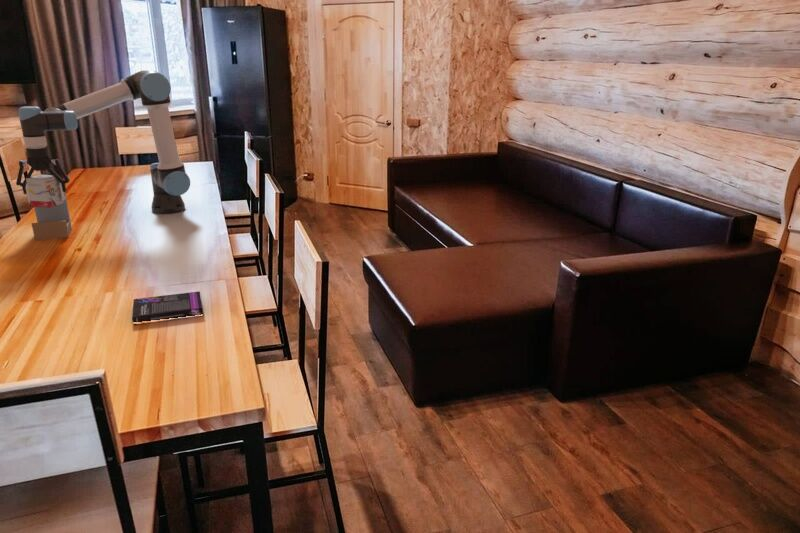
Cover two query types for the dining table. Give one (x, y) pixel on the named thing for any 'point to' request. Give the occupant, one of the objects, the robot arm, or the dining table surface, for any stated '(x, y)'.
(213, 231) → the dining table surface
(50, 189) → the ink box
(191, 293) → the box
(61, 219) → the grey magazine holder
